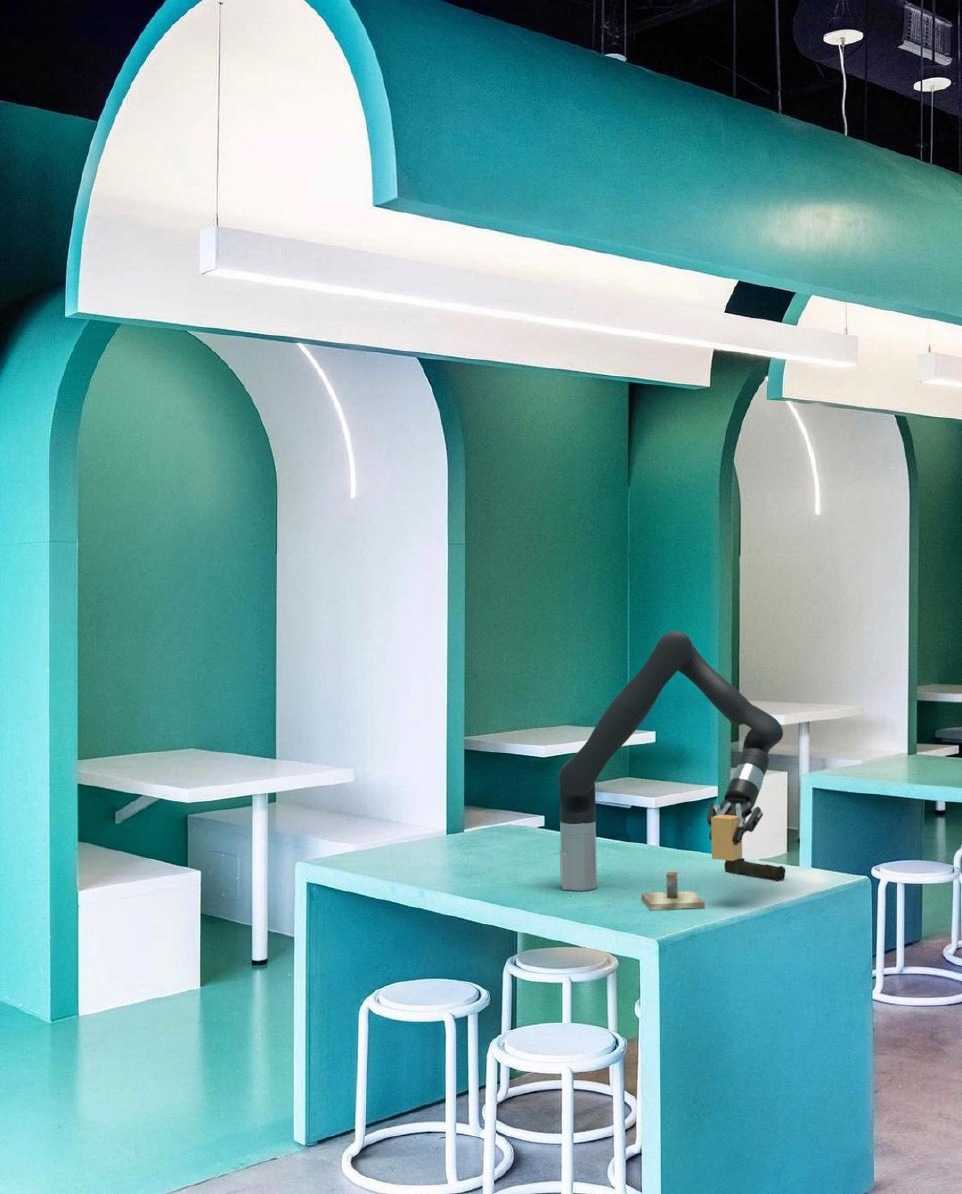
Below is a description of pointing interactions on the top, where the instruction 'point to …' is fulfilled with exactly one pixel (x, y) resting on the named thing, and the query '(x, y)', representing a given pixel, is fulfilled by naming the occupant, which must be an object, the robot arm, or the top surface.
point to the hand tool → (754, 869)
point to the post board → (672, 903)
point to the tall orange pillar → (725, 838)
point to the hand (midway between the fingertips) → (723, 841)
